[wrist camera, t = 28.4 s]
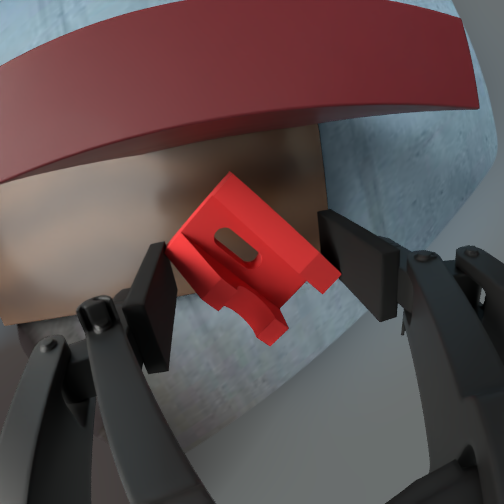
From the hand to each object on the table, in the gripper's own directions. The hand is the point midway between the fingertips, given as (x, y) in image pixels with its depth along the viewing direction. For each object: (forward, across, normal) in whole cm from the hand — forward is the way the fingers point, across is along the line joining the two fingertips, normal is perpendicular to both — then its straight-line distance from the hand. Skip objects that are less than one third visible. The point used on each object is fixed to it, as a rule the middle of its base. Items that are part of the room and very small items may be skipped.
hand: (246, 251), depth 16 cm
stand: (+8, +8, -3) cm, 12 cm away
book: (+6, 0, -7) cm, 10 cm away
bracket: (0, 0, 0) cm, 0 cm away
